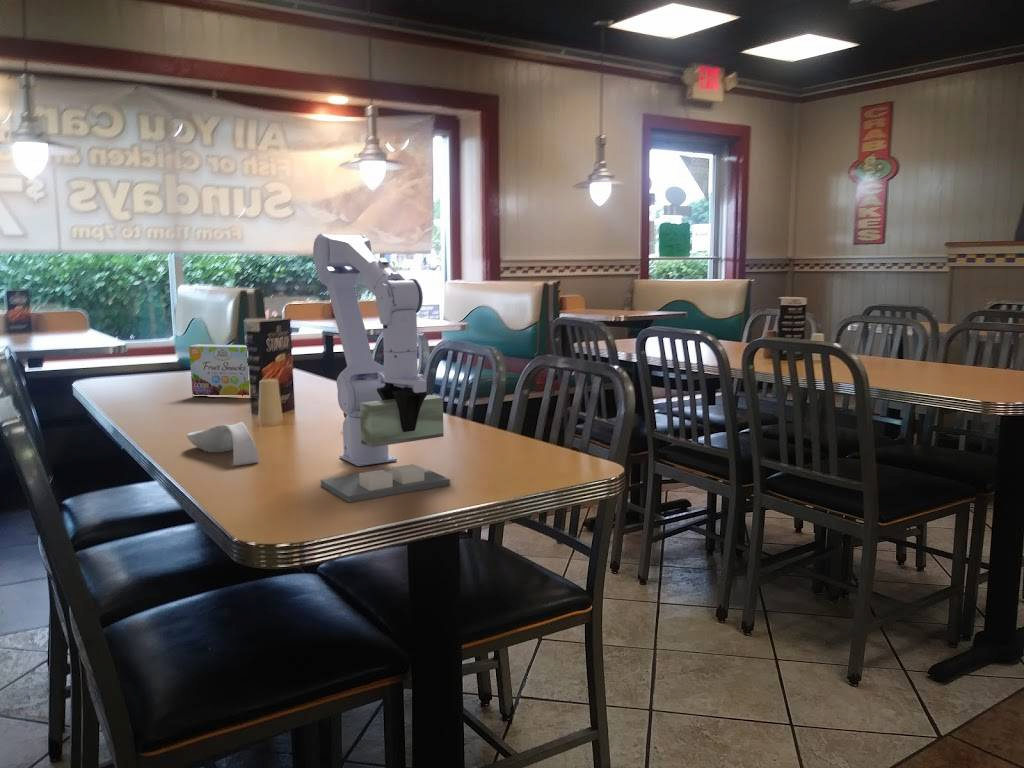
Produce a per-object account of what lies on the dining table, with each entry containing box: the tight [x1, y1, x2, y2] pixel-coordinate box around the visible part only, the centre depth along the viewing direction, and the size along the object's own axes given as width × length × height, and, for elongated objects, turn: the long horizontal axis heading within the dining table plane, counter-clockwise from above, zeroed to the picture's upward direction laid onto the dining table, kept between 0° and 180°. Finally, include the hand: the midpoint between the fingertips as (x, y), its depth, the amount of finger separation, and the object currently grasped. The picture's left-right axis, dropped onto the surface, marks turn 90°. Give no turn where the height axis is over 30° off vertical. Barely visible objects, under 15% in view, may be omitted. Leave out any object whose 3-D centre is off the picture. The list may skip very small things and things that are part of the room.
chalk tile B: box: [391, 463, 424, 484], centre depth 133 cm, size 4×4×2 cm
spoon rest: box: [186, 421, 260, 467], centre depth 157 cm, size 24×12×7 cm, turn 37°
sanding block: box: [360, 394, 444, 447], centre depth 138 cm, size 4×14×7 cm, turn 127°
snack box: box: [188, 343, 249, 396], centre depth 229 cm, size 21×6×15 cm, turn 81°
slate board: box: [320, 464, 451, 503], centre depth 133 cm, size 12×18×1 cm, turn 124°
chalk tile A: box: [358, 469, 393, 491], centre depth 129 cm, size 4×4×2 cm
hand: (402, 428), depth 138 cm, fingers closed on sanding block, 4 cm apart
